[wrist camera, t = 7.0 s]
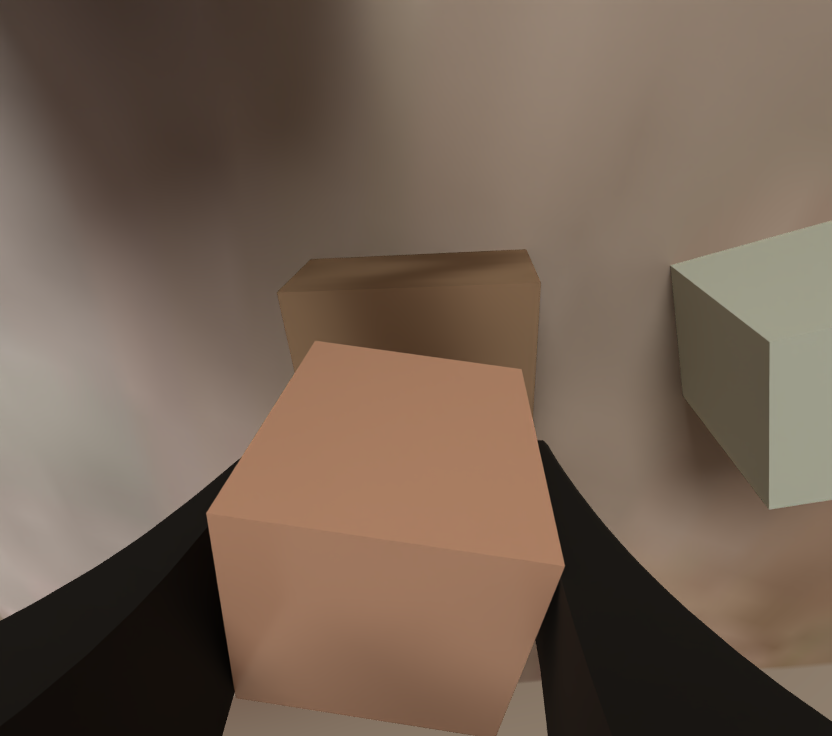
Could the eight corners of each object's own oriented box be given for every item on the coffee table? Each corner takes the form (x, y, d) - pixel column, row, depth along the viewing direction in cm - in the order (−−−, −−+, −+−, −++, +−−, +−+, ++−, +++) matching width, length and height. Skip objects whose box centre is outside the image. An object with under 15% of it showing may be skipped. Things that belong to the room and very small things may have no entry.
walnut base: (525, 247, 15) (540, 282, 12) (517, 425, 18) (528, 488, 15) (313, 256, 16) (277, 292, 13) (342, 426, 19) (320, 486, 16)
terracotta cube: (521, 369, 11) (565, 565, 6) (483, 517, 14) (495, 739, 9) (315, 340, 11) (206, 513, 7) (314, 492, 14) (235, 698, 9)
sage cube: (855, 212, 13) (1070, 272, 9) (842, 360, 16) (1008, 471, 11) (669, 264, 15) (769, 342, 10) (682, 394, 17) (768, 509, 12)
